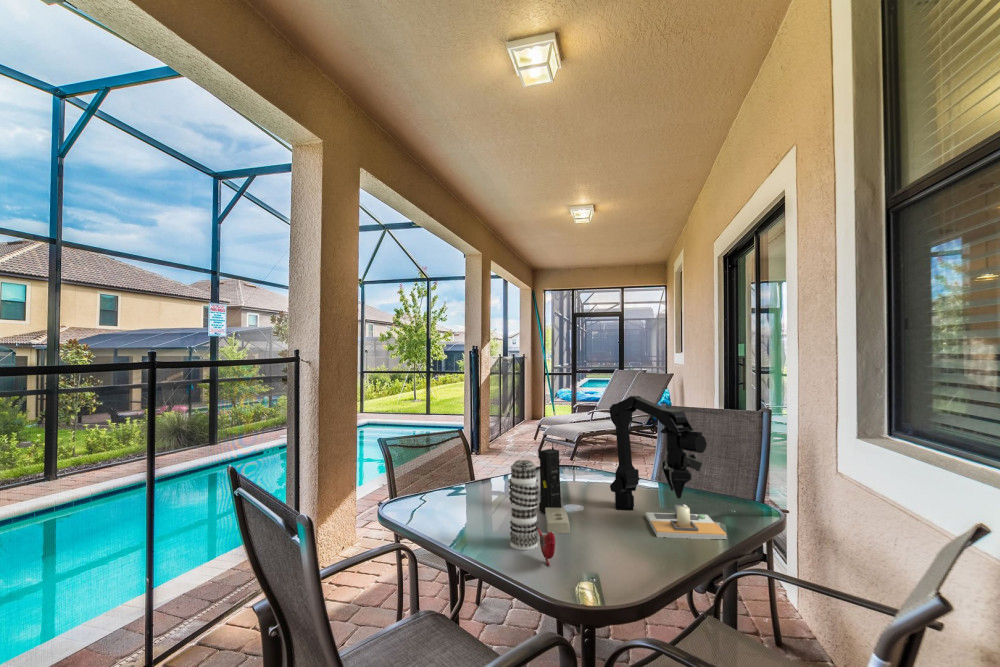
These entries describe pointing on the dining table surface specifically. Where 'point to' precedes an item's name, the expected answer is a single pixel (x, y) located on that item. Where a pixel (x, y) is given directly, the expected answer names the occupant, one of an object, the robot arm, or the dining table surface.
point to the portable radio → (549, 479)
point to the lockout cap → (683, 516)
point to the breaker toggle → (676, 508)
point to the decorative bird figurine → (547, 545)
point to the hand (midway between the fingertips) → (675, 494)
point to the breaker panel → (698, 522)
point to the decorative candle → (523, 505)
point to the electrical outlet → (557, 520)
